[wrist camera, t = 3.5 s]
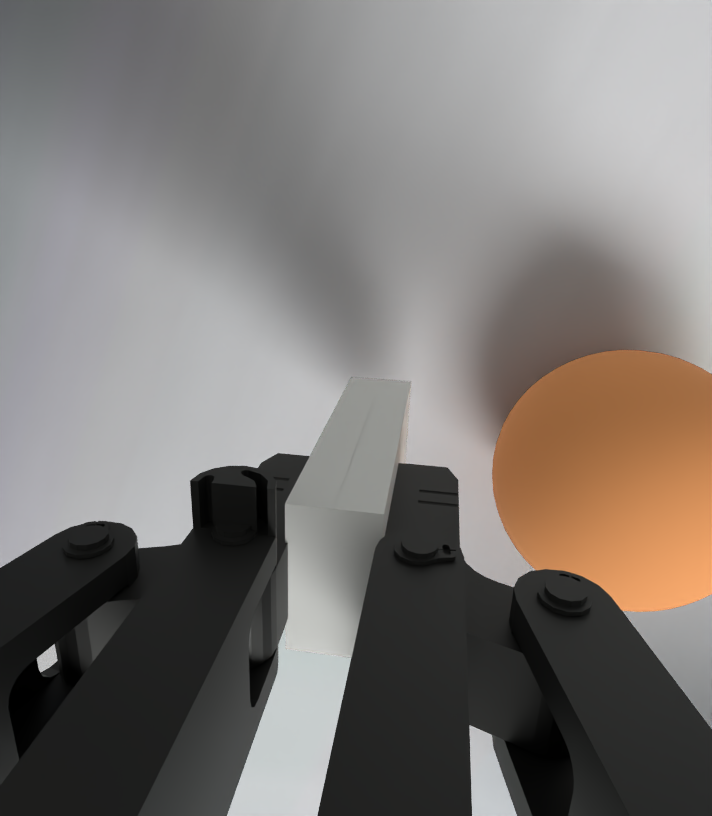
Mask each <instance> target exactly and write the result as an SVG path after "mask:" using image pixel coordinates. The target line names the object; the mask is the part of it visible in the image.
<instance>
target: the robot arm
mask: <svg viewBox="0 0 712 816" xmlns="http://www.w3.org/2000/svg"><path fill="white" fill-rule="evenodd" d="M410 391H411V382H410V381H397V380H384V379H371V378H359V377H351V379H350V381H349V382H348V384H347V386H346V388H345V390H344V392H343V394H342V396H341V398H340V400H339V402H338V403H337V405H336V407H335V409H334V411H333V413H332V415H331V417H330V419H329V421H328V422H327V424H326V426H325V428H324V430H323V432H322V434H321V436H320V438H319V440H318V442H317V443H316V445H315V447H314V449H313V451H312V453H311V455H310V456H301V455H290V454H280V453H278V454H276V455H274V456H273V457H271V458H269V459H267V460H265V461H264V462H262V463H261V464H260V466H259V467H258V468H253V467H248V466H226V467H220V468H214V469H211V470H208V471H206V472H203V473H200V474H199V475H197V476H196V477H194V478H193V479H192V480H190V485H191V500H192V516H193V529H192V530H191V532H190V533H189V534H188V536H187V537H186V538H185V540H184V541H183V542H182V544H179V545H172V546H164V547H151V548H139V549H138V543H137V536H136V534H135V533H134V531H133V529H132V528H130V527H128V526H126V525H124V524H121V523H115V522H107V521H98V522H96V521H94V522H87V523H84V524H81V525H78V526H74V527H70V528H68V529H66V530H64V531H62V532H60V533H57V534H55V535H54V536H52V537H50V538H49V539H47V540H46V541H44V542H42V543H41V544H39V545H37V546H36V547H34V548H32V549H31V550H29V551H28V552H26V553H24V554H23V555H21V556H19V557H18V558H16V559H14V560H13V561H11V562H9V563H8V564H6V565H5V566H3V567H1V568H0V816H227V813H228V811H229V808H230V805H231V802H232V799H233V796H234V794H235V791H236V788H237V785H238V782H239V779H240V777H241V774H242V771H243V768H244V765H245V763H246V760H247V757H248V754H249V751H250V748H251V746H252V743H253V740H254V737H255V734H256V731H257V729H258V726H259V723H260V720H261V717H262V714H263V712H264V709H265V706H266V703H267V700H268V698H269V695H270V692H271V689H272V686H273V683H274V681H275V678H276V675H277V670H278V643H279V641H280V638H281V635H282V633H283V630H284V627H285V625H286V649H289V650H297V651H304V652H311V653H319V654H326V655H333V656H341V657H348V658H351V663H350V667H349V672H348V677H347V681H346V686H345V690H344V695H343V700H342V704H341V709H340V714H339V718H338V723H337V728H336V732H335V737H334V742H333V746H332V751H331V755H330V760H329V765H328V769H327V774H326V779H325V783H324V788H323V793H322V797H321V802H320V807H319V811H318V816H472V803H471V769H470V736H469V725H471V726H473V727H476V728H478V729H480V730H483V731H485V732H487V733H489V734H492V738H493V746H494V750H495V753H496V756H497V759H498V762H499V765H500V768H501V770H502V773H503V776H504V779H505V782H506V785H507V788H508V791H509V793H510V796H511V799H512V802H513V805H514V808H515V811H516V814H517V816H712V729H711V728H710V727H709V725H708V724H707V723H706V721H705V720H704V719H703V717H702V716H701V715H700V713H699V712H698V711H697V709H696V708H695V707H694V705H693V704H692V703H691V701H690V700H689V699H688V698H687V696H686V695H685V694H684V692H683V691H682V690H681V688H680V687H679V686H678V684H677V683H676V682H675V680H674V679H673V678H672V676H671V675H670V674H669V672H668V671H667V670H666V668H665V667H664V666H663V664H662V663H661V662H660V661H659V659H658V658H657V657H656V655H655V654H654V653H653V651H652V650H651V649H650V647H649V646H648V645H647V643H646V642H645V641H644V639H643V638H642V637H641V635H640V634H639V633H638V631H637V630H636V629H635V628H634V626H633V625H632V624H631V622H630V621H629V620H628V618H627V617H626V616H625V614H624V613H623V612H622V610H621V609H620V608H619V606H618V605H617V604H616V602H615V601H614V600H613V598H612V597H611V596H610V595H609V594H608V593H607V592H606V591H604V590H603V589H602V588H601V587H600V586H599V585H597V584H596V583H594V582H592V581H590V580H588V579H586V578H585V577H583V576H580V575H577V574H574V573H570V572H567V571H562V570H550V569H543V570H537V571H530V572H528V573H526V574H525V575H523V576H521V577H520V578H518V580H517V582H516V584H515V586H514V587H511V586H507V585H504V584H501V583H498V582H496V581H493V580H491V579H488V578H486V577H484V576H483V575H481V574H479V573H478V572H476V571H474V570H473V569H472V568H471V567H470V566H469V565H468V564H467V563H466V562H465V560H464V556H463V554H462V551H461V548H460V539H459V497H458V479H457V478H456V477H455V476H454V475H453V474H452V472H451V471H450V470H449V469H448V468H446V467H436V466H425V465H415V464H405V462H406V448H407V433H408V419H409V405H410ZM53 644H55V648H56V653H57V659H58V661H57V662H56V663H55V664H53V665H52V666H51V667H50V668H48V669H46V670H45V671H43V672H41V673H40V671H39V669H38V664H37V657H38V656H40V655H41V654H42V653H43V652H45V651H46V650H47V649H48V648H50V647H51V646H52V645H53Z"/></svg>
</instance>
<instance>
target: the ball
mask: <svg viewBox="0 0 712 816" xmlns="http://www.w3.org/2000/svg"><path fill="white" fill-rule="evenodd" d="M492 479H493V492H494V497H495V502H496V506H497V510H498V513H499V516H500V518H501V521H502V523H503V526H504V528H505V530H506V532H507V534H508V535H509V537H510V539H511V541H512V542H513V544H514V545H515V547H516V549H517V550H518V551H519V552H520V554H521V555H522V556H523V558H524V559H525V560H526V561H527V562H528V563H529V564H530V565H531V566H532V567H533V568H534V569H535V570H536V571H537V570H543V569H550V570H562V571H567V572H570V573H574V574H577V575H580V576H583V577H585V578H586V579H588V580H590V581H592V582H594V583H596V584H597V585H599V586H600V587H601V588H602V589H603V590H604V591H606V592H607V593H608V594H609V595H610V596H611V597H612V598H613V600H614V601H615V602H616V604H617V605H618V606H619V608H620V609H621V610H622V611H635V612H647V611H659V610H667V609H672V608H676V607H680V606H684V605H687V604H690V603H693V602H695V601H698V600H700V599H702V598H704V597H707V596H709V595H711V594H712V374H710V373H709V372H707V371H705V370H704V369H702V368H700V367H698V366H696V365H694V364H691V363H689V362H687V361H684V360H682V359H680V358H676V357H672V356H669V355H665V354H661V353H655V352H648V351H641V350H615V351H605V352H600V353H596V354H591V355H587V356H584V357H581V358H578V359H576V360H573V361H570V362H568V363H566V364H564V365H562V366H560V367H558V368H556V369H554V370H553V371H551V372H550V373H548V374H547V375H545V376H544V377H542V378H541V379H540V380H539V381H537V382H536V383H535V384H534V385H533V386H531V387H530V388H529V389H528V390H527V391H526V392H525V393H524V395H523V396H522V397H521V398H520V399H519V400H518V401H517V403H516V404H515V406H514V407H513V408H512V410H511V411H510V413H509V415H508V417H507V418H506V420H505V422H504V424H503V426H502V429H501V432H500V435H499V437H498V440H497V443H496V448H495V452H494V457H493V469H492Z"/></svg>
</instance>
